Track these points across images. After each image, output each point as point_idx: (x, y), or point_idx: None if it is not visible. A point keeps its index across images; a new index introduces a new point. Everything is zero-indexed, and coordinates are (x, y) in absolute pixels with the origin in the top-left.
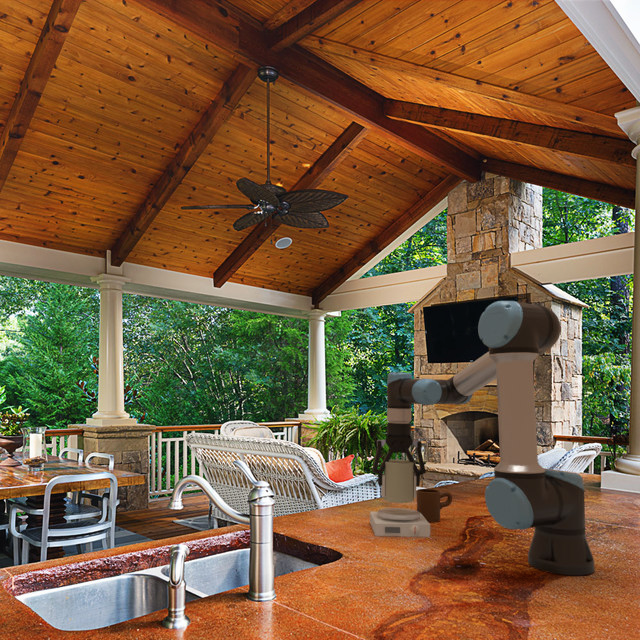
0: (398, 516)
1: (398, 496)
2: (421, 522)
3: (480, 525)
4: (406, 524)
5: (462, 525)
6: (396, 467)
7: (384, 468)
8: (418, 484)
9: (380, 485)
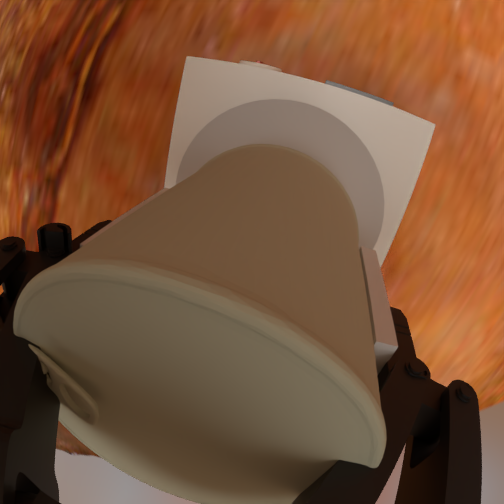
0: (316, 121)
1: (298, 163)
2: (209, 95)
3: (29, 195)
4: (294, 75)
5: (63, 202)
6: (294, 282)
7: (383, 400)
8: (104, 224)
9: (390, 307)
